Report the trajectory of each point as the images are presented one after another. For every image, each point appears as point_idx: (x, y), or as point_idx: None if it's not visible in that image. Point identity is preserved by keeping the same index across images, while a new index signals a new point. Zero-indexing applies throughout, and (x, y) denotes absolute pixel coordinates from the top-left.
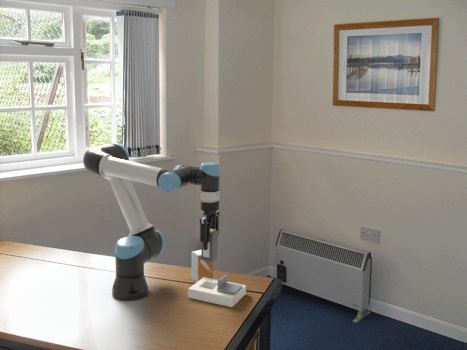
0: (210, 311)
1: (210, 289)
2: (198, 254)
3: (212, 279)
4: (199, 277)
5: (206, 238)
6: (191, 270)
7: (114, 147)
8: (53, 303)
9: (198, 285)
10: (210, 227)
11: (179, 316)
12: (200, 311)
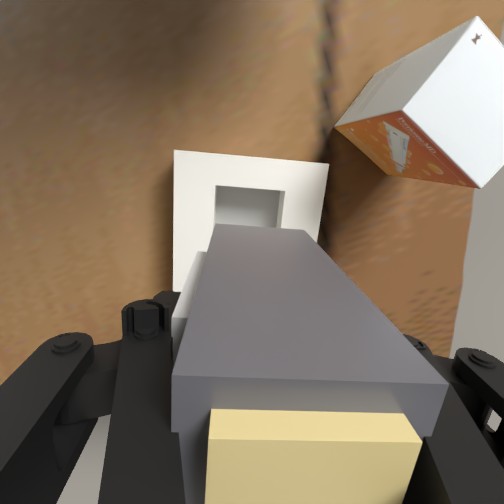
0: (116, 274)
1: (208, 245)
2: (423, 101)
3: (312, 212)
4: (347, 130)
5: (69, 452)
6: (392, 63)
7: None
8: None
9: (227, 179)
10: (432, 500)
11: (18, 188)
12: (97, 243)
